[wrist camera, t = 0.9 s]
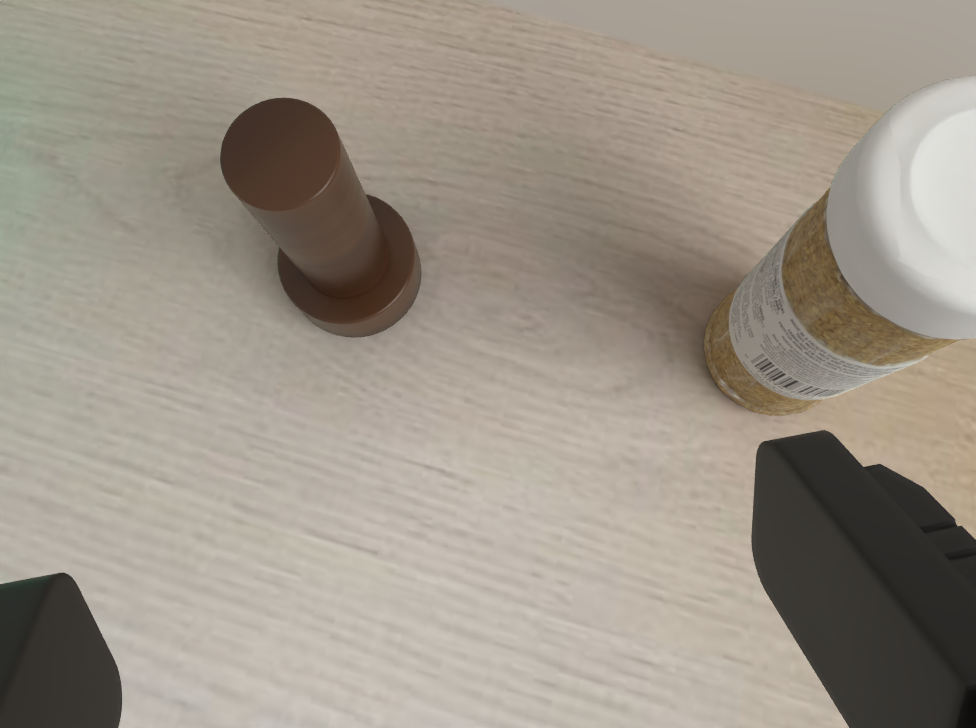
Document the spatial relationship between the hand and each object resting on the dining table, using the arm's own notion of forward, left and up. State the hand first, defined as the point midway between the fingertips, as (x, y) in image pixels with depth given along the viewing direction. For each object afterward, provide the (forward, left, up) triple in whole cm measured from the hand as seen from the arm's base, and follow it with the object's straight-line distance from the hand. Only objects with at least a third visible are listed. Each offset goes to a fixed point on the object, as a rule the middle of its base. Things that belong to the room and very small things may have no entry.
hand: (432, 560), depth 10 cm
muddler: (+9, -4, -17) cm, 20 cm away
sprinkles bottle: (-3, -11, -17) cm, 21 cm away
